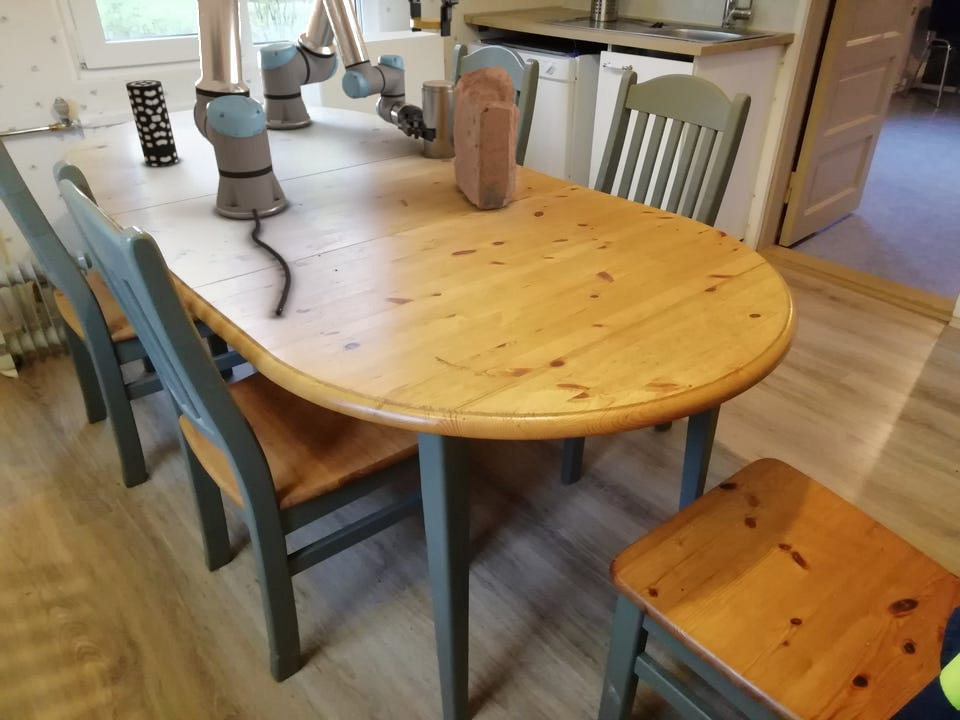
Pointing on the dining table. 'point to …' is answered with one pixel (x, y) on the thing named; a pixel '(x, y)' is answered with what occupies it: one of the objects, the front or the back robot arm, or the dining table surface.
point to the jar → (439, 117)
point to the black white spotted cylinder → (152, 122)
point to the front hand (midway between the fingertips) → (430, 33)
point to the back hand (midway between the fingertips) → (447, 134)
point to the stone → (485, 137)
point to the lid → (425, 22)
